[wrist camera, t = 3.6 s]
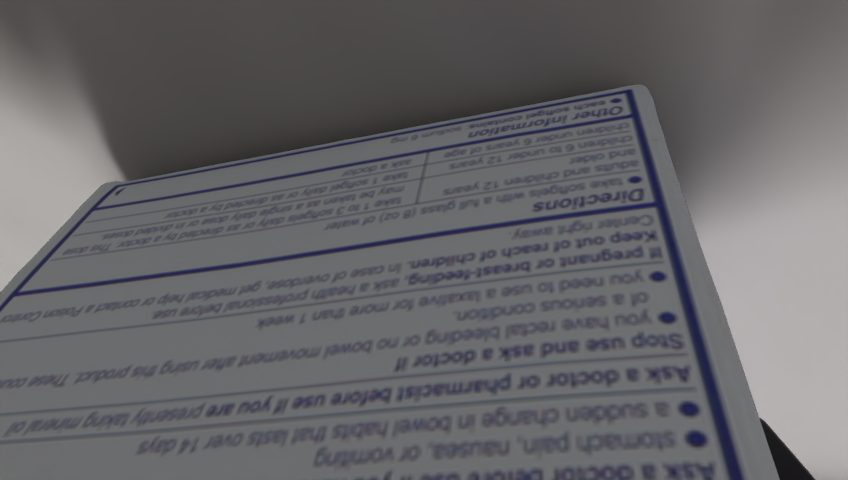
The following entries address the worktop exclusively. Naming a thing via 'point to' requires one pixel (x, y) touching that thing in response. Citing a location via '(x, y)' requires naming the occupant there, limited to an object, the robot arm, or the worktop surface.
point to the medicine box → (386, 315)
